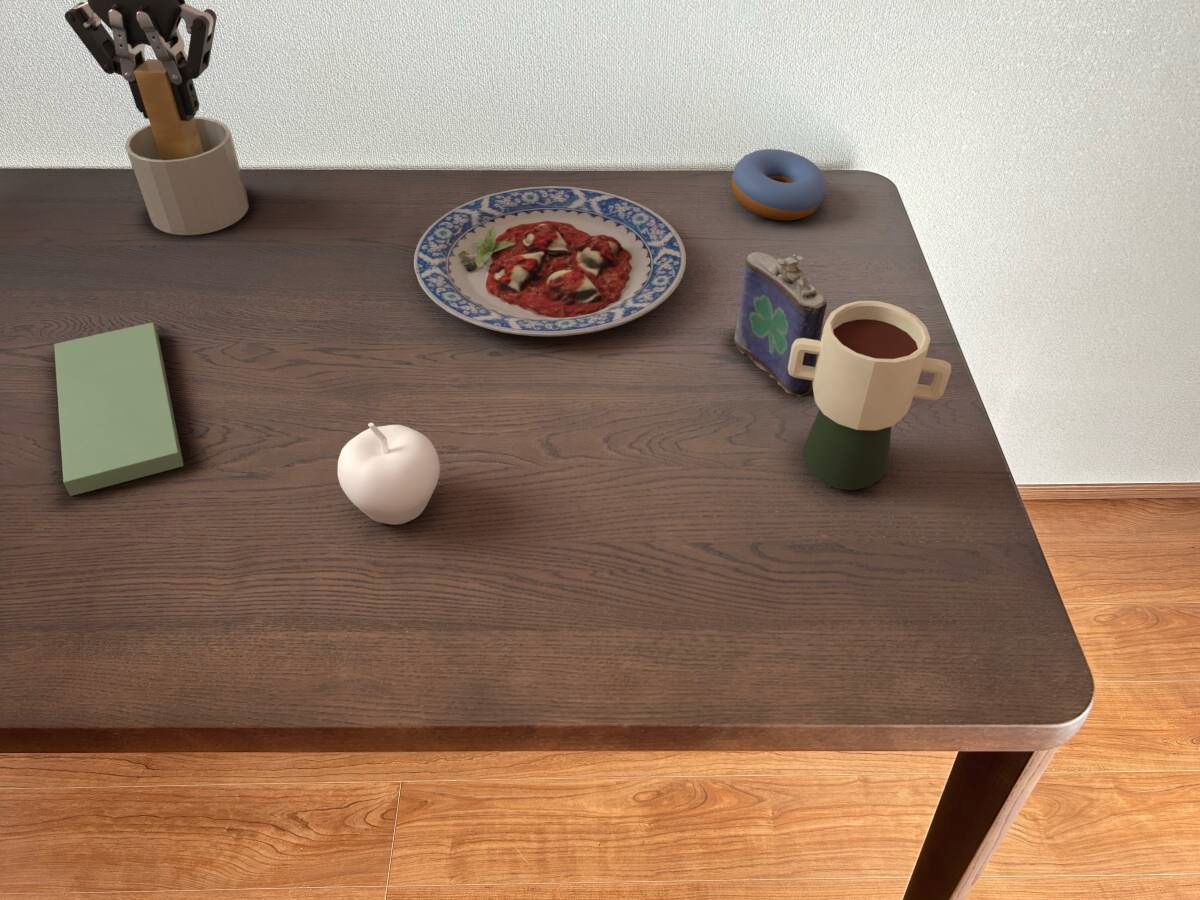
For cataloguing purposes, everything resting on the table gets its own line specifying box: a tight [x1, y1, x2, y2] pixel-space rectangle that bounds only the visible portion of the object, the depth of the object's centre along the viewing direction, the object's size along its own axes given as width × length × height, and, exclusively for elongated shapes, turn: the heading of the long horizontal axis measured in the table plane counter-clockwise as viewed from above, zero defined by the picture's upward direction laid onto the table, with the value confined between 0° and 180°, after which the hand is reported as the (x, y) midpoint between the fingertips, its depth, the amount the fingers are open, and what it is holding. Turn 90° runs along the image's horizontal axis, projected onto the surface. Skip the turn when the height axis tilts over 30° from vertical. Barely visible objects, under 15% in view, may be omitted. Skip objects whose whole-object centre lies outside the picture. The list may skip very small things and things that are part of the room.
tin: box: [124, 116, 250, 236], centre depth 98 cm, size 10×10×8 cm
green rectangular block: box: [53, 321, 184, 497], centre depth 78 cm, size 18×8×2 cm, turn 24°
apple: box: [337, 422, 441, 526], centre depth 68 cm, size 7×7×8 cm
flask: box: [734, 251, 828, 398], centre depth 80 cm, size 9×3×11 cm, turn 31°
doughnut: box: [730, 148, 827, 222], centre depth 102 cm, size 10×10×5 cm
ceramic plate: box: [413, 185, 687, 337], centre depth 93 cm, size 26×26×3 cm
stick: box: [134, 58, 204, 160], centre depth 96 cm, size 3×3×14 cm
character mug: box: [788, 300, 952, 491], centre depth 70 cm, size 11×7×13 cm, turn 76°
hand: (170, 115), depth 94 cm, fingers closed on stick, 3 cm apart
